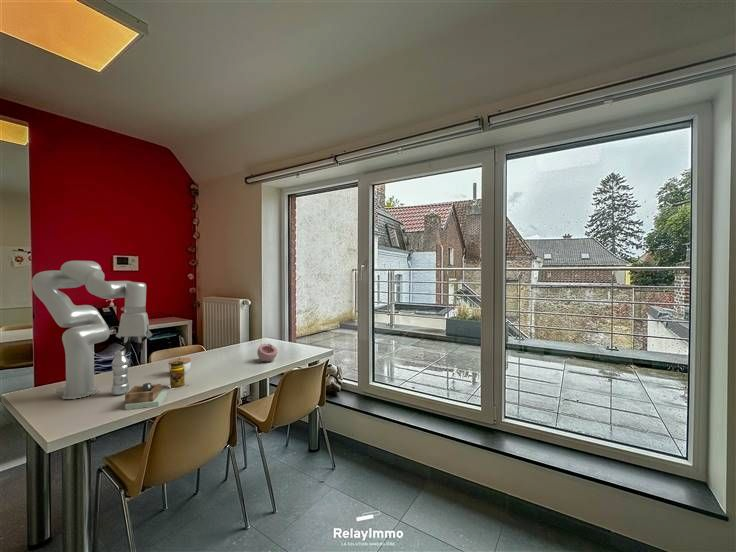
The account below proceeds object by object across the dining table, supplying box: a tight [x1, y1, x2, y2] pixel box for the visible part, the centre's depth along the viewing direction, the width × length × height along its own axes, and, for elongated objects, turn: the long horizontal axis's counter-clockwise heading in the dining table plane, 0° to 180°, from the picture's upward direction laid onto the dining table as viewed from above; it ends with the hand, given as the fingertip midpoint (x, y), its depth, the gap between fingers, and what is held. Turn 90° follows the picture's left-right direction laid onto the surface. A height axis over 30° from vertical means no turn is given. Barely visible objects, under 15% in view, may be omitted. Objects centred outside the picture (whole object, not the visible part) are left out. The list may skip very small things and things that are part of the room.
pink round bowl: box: [257, 343, 278, 363], centre depth 199 cm, size 12×12×11 cm
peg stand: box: [124, 382, 168, 410], centre depth 137 cm, size 12×12×8 cm
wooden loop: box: [124, 383, 162, 405], centre depth 137 cm, size 10×10×4 cm
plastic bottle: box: [111, 349, 130, 396], centre depth 146 cm, size 6×7×20 cm
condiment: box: [166, 361, 189, 391], centre depth 157 cm, size 7×8×12 cm
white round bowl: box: [168, 356, 192, 376], centre depth 174 cm, size 11×11×9 cm
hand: (133, 350), depth 140 cm, fingers open, 3 cm apart
